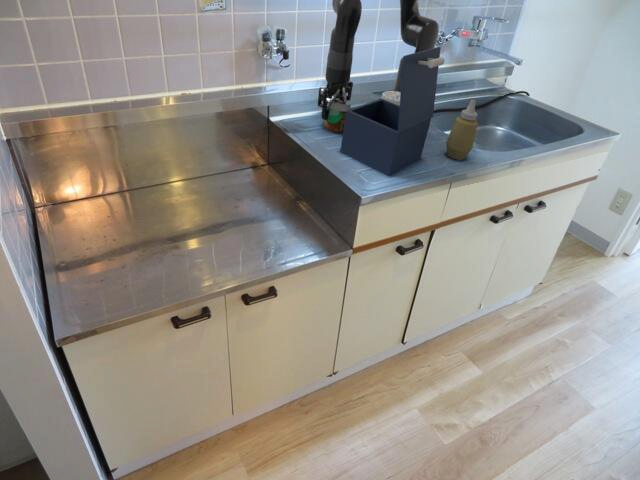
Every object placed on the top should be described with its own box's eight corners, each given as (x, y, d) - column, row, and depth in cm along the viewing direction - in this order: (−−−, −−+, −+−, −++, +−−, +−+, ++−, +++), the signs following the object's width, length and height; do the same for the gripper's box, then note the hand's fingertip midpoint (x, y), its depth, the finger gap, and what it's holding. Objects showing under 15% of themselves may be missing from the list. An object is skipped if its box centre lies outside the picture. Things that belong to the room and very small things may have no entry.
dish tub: (340, 151, 141) (346, 110, 133) (373, 137, 152) (381, 98, 144) (388, 176, 132) (398, 133, 124) (420, 158, 143) (431, 118, 135)
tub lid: (403, 55, 115) (422, 58, 112) (438, 46, 125) (456, 48, 122) (397, 131, 124) (415, 135, 121) (430, 116, 135) (447, 120, 132)
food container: (314, 120, 157) (317, 91, 151) (330, 119, 159) (334, 90, 153) (329, 136, 148) (333, 106, 142) (347, 135, 151) (351, 105, 145)
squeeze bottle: (459, 149, 152) (476, 94, 141) (473, 161, 146) (493, 105, 135) (438, 150, 149) (454, 95, 138) (452, 163, 143) (470, 106, 132)
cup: (390, 123, 162) (397, 89, 155) (407, 134, 156) (415, 99, 149) (369, 127, 158) (376, 92, 151) (386, 138, 152) (393, 102, 145)
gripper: (333, 72, 135) (326, 126, 145) (363, 64, 144) (355, 115, 154) (314, 65, 139) (309, 118, 149) (344, 57, 148) (337, 108, 158)
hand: (332, 116), depth 151 cm, fingers closed on food container, 7 cm apart
